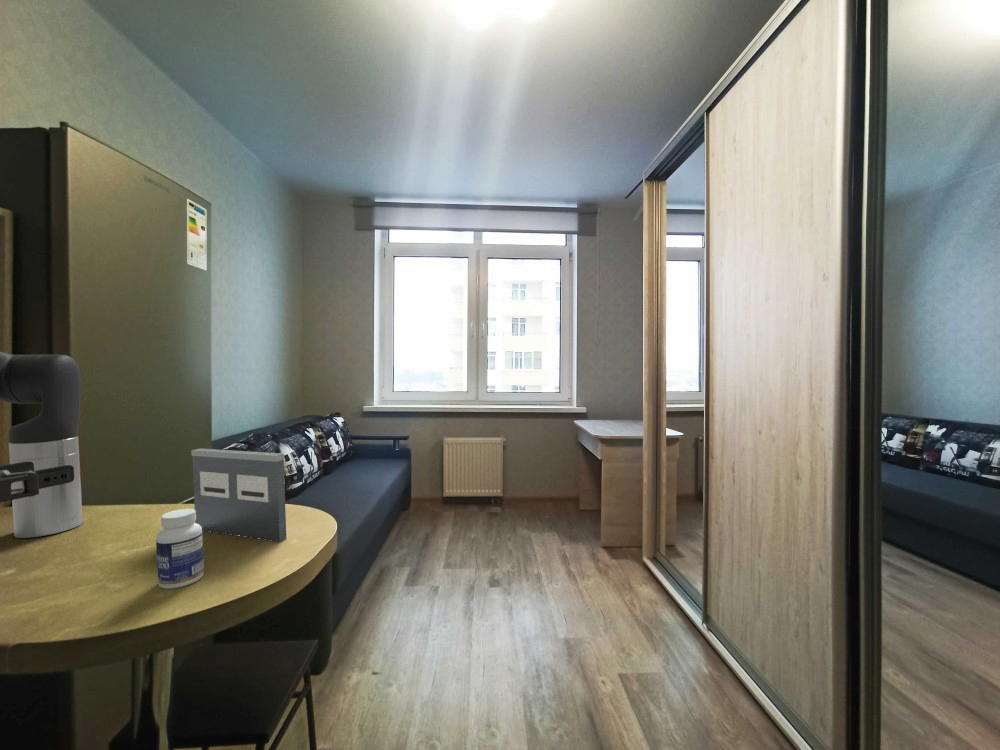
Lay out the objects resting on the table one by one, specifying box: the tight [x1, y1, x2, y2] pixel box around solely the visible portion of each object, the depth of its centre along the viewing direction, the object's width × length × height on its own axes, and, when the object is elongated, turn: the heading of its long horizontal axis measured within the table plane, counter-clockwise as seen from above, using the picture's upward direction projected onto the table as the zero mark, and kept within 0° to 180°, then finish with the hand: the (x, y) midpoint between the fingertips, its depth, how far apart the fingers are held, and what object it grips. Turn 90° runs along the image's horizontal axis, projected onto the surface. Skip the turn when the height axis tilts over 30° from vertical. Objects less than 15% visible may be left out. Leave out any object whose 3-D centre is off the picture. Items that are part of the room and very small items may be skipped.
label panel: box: [190, 448, 287, 543], centre depth 81 cm, size 20×2×15 cm, turn 71°
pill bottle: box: [155, 508, 205, 590], centre depth 64 cm, size 5×5×10 cm
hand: (51, 470), depth 59 cm, fingers open, 8 cm apart
